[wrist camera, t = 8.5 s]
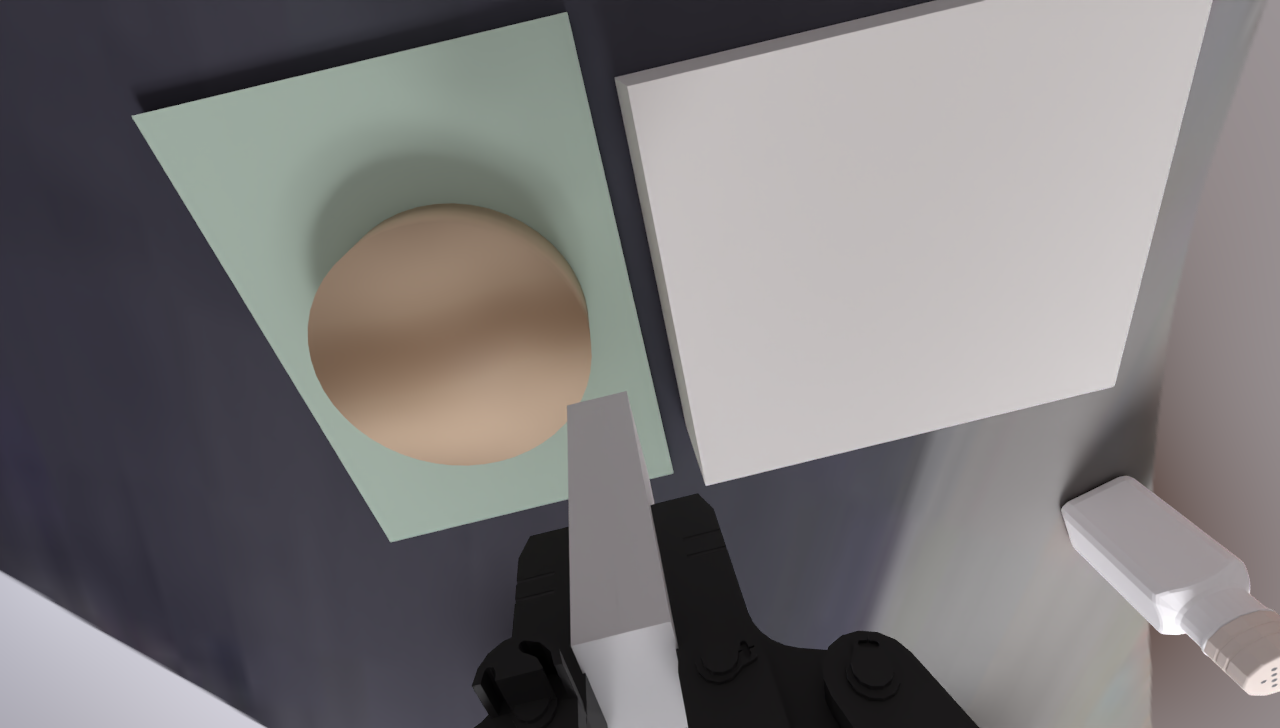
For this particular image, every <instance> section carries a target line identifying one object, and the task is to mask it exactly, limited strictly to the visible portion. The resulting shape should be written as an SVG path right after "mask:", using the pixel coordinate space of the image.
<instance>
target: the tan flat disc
mask: <svg viewBox="0 0 1280 728" xmlns="http://www.w3.org/2000/svg"><path fill="white" fill-rule="evenodd" d="M308 347H309V352H310V358H311V362H312V365H313V368H314V371H315V374H316V376H317V378H318V380H319V382H320V384H321V386H322V388H323V390H324V392H325V393H326V395H327V396H328V398H329V399H330V401H331V402H332V404H333V405H334V406H335V407H336V408H337V409H338V411H339V412H340V413H341V414H342V415H343V416H344V417H345V418H346V419H347V420H348V421H349V422H350V423H351V424H352V425H353V426H355V427H356V428H357V429H358V430H359V431H361V432H362V433H364V434H365V435H366V436H368V437H369V438H371V439H372V440H374V441H376V442H377V443H379V444H381V445H383V446H384V447H386V448H388V449H391V450H393V451H395V452H398V453H400V454H402V455H405V456H408V457H411V458H414V459H418V460H422V461H426V462H431V463H436V464H445V465H463V466H469V465H481V464H488V463H493V462H499V461H503V460H506V459H509V458H512V457H516V456H518V455H520V454H523V453H525V452H527V451H530V450H531V449H533V448H535V447H537V446H538V445H540V444H542V443H543V442H545V441H546V440H547V439H549V438H550V437H551V436H553V435H554V434H555V433H556V432H557V431H558V430H559V429H560V428H561V427H562V426H563V425H564V424H565V423H566V422H567V405H571V404H575V403H579V402H580V401H581V400H582V397H583V395H584V392H585V390H586V387H587V384H588V380H589V376H590V371H591V359H592V354H591V339H590V328H589V317H588V309H587V305H586V300H585V296H584V293H583V291H582V288H581V285H580V283H579V281H578V279H577V277H576V275H575V273H574V271H573V269H572V268H571V267H570V265H569V264H568V262H567V261H566V259H565V258H564V257H563V255H562V254H561V253H560V252H559V251H558V250H557V249H556V248H555V247H554V246H553V245H552V244H551V243H550V242H549V241H548V240H547V239H546V238H544V237H543V236H542V235H541V234H540V233H538V232H537V231H535V230H534V229H532V228H531V227H529V226H528V225H526V224H525V223H523V222H521V221H519V220H517V219H515V218H513V217H511V216H509V215H506V214H503V213H501V212H498V211H495V210H492V209H489V208H484V207H479V206H474V205H467V204H456V203H448V204H432V205H427V206H421V207H416V208H413V209H410V210H407V211H404V212H401V213H398V214H396V215H394V216H392V217H390V218H388V219H386V220H384V221H383V222H381V223H380V224H378V225H377V226H375V227H374V228H372V229H371V230H370V231H369V232H368V233H367V234H366V235H364V236H363V237H362V238H361V239H360V240H359V241H358V242H357V243H356V244H355V245H354V246H353V247H352V248H351V249H350V250H349V251H348V252H347V253H346V254H345V255H344V256H343V257H342V258H341V259H340V260H339V261H338V262H337V263H336V264H335V265H334V266H333V267H332V268H331V270H330V271H329V272H328V274H327V275H326V276H325V278H324V279H323V281H322V282H321V284H320V286H319V288H318V290H317V292H316V294H315V297H314V300H313V303H312V306H311V309H310V314H309V321H308Z"/></svg>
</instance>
